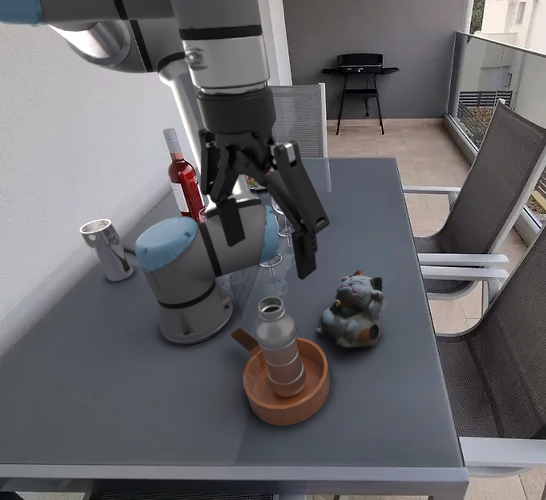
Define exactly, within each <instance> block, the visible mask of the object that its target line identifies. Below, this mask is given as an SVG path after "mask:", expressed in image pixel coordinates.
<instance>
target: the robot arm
mask: <svg viewBox="0 0 546 500" xmlns="http://www.w3.org/2000/svg"><path fill="white" fill-rule="evenodd" d="M260 11H261V10H260V5H259V0H0V23H1V24H3V25H6V26H7V25H8V26H29V27H33V28H40V26H46V25H47V26H49V27H50V28H51V29H53V30H54V31H56V32H57V33H58V34H59V35H61V36H62V37H63V39H64V41H65V42H66V44H67V45H68V47H69V48H70V49H71V50H72V51H73V52H74V53H75V54H76V55H77V56H78V57H79V58H81V59H82V60H84V61H86V62H87V63H89V64H91V65H93V66H96V67H99V68H103V69H106V70H110V71H115V72H119V73H124V74H125V73H126V74H149V73H157V75H158V77H159V80H160V81H161V82H162V83H163V84H164V85H165V86H168V87H169V88H171V91H172V94H173V96H174V97H173V98H174V100H175V102H176V103H175V104H176V106H177V109H178V112H179V115H180V117H181V121H182V124H183V127H184V129H185V133H186V136H187V139H188V142H189V145H190V149H191V151H192V154H193V157H194V160H195V163H196V166H197V169H198V172H199V175H200V181H199V182H200V183H199V184H200V186H199V187H200V193H201V194H202V195H203V196H204V197H206V196H207V200H208V205H207V207H206V208H205V210H204V215H205V219H206V221H201V222H197V221H196V220H195V219H193V218H192V217H190V216H174V217H170V218H167V219H164V220H161V221H159V222H157V223H155V224H153V225H152V226H150V227H148V228H146V230H145V231H144V232H143V233H141V234H140V235H139V236H138V238H137V240H136V241H135V243H134V249H132V248H129V247H126V246H123V245H122V246H123V250H124V251H126V252H129V253H132V254H134V255H135V257H136V259H137V261H138V267H139V269H140V270H141V271H142V273H143V274H144V276H145V279H146V280H147V282H148V284H149V287H150V289H151V291H152V293H153V294H154V295H153V296H154V297H155V298H156V301H157V303H158V325H159V330H160V332H161V334H162V336H163V338H164V339H165V340H166V341H167V342H169V343H171V344H174V345H178V346H192V345H196V344H199V343H204V342H206V341H208V340H210V339H213V338H214V337H215V336H217V335H218V334H220V333H221V332H222V331H224V330H225V329H226V328H227V327H228V325H229V324H230V323H231V321H232V319H233V317H234V312H235V311H234V305H233V302H232V298H231V296H230V295H229V294H227V293H226V291H225V290H223V289H222V287H221V286H220V285H219V284H218V283H217V281H216V278H220V277H222V276H226V275H229V274H232V273H235V272H239V271H242V270H244V269H248V268H251V267H254V266H260V265H261V264H264V263H266V262H269V261H271V260H274V259H275V258H276V257H277V256H278V253H279V249H280V237H279V229H278V224H277V219H276V215H275V214H274V210H273V208H272V207H271V205H267V204H263V203H262V199H261V197H260V196H258V195H256V194H255V193H253V192H252V190H250V188H249V185H248V182H247V179H246V176H248V177H250V178H253V179H255V180H256V181H257V183H258V184H259V185H260V186H262V187H265V188H266V190H267V192H268V194H269V195H270V196H271V198H272V199H273V201H274V202H275V203H276V205H277V206H278V208H279V209H280V211H281V212H282V214H283V216H284V217H285V218H286V220H287V221H288V222H289V225H290V224H291V225H292V226H293V227H292V226H291V225H290V226H291V227H292V228H293V230H294V231H293V232H291V233H290V236H291V237H290V238H291V242H292V243H291V244H292V249H293V256H294V262H295V269H296V273H297V279H299V280H301V281H303V280H305V279H306V278H307V277H309V276H310V275H311V274H313V273H314V272H315V271H316V270H317V260H316V259H317V258H316V253H317V252H318V249H319V248H318V242H317V241H318V239H317V234H319V233H320V232H321V231H323V230H325V228H327V227H328V226H330V219H329V217H328V215H327V213H326V210H325V208H324V205H323V204H322V202H321V199H320V198H319V195H318V194H317V192H316V190H315V187H314V184H313V183H312V181H311V179H310V176H309V174H308V172H307V170H306V167H305V166H304V163H303V162H302V158H301V152H300V147H299V144H298V142H297V141H296V140H295V139H291V140H288V141H285V142H277V141H276V139H275V137H274V134H273V128H274V125H275V124H276V122H277V112H276V106H275V100H274V94H273V89H272V88H271V87H270V86H269V85H268V84H266V83H267V82H268V81H269V80H270V79H271V72H270V66H269V60H268V55H267V48H266V43H265V37H264V32H263V26H262V18H261V12H260ZM271 167H272V168H273V169H274V171H273V172H271V173H269V174H267V173H268V172H269V171H270V169H271ZM245 175H246V176H245ZM301 220H302V222H301Z"/></svg>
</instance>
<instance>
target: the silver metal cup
mask: <svg viewBox="0 0 546 500" xmlns="http://www.w3.org/2000/svg"><path fill="white" fill-rule="evenodd" d="M79 232H80V234H81V237H82V239H83V241H84V243H85V245H86V247H87V248H88V250H89V251H90V253H91V254H92V255H93V257H94V258H95V259H96V260H97V261H98V262H99V263H100V264H101V265H102V267H103V268H104V270H105V273H106V277H107V279H108V280H109V281H110V282H119V281H123V280H125V279H128V278H129V277H131V276H132V275H133V273H134V268H133V266H132V265H131V264H130V262H129V261H128V260H127V257H126V254H125V250H124V249H123V243H122V240H121V237H120V235H119V233H118V231H117V230H116V228H115V227H114V225H113V223H112V222H111V220H110V219H103V218H102V219H97V220H93V221H90V222H87V223H86V224H83V226H82V225H81V227H80V229H79Z"/></svg>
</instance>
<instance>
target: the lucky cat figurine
mask: <svg viewBox="0 0 546 500" xmlns="http://www.w3.org/2000/svg"><path fill="white" fill-rule="evenodd" d="M334 297H335V300H334V301H333V303H332V305H331V306H329V307H327V308H326V309H325V310H323V312H322V313H321V314H320V317H319V322H320V325H319V327H316V328H315V330H316V332H317V333H318V334H319V335H323V336H325V337H326V338H329V340H330V341H332V342H333V343H334V344H335V345H337V346H339V347H340V346H341V347H342V348H361V347H362V348H364V347H372V346H375V345H378V344H379V343H380V339H381V332H382V329H383V328H382V324H381V320H380V312H381V310H382V306H383V302H384V299H385V298H384V297H385V295H384V292H383V279H382V276H376V277H370V276H368V275H364V273H363V271H361V270H360V269H357V270H356V271H355V272H354V273H353V274H351V275H345V276H342V277H341V283H340V284H339V285H338V286H337V288H336V293H335V296H334Z"/></svg>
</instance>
